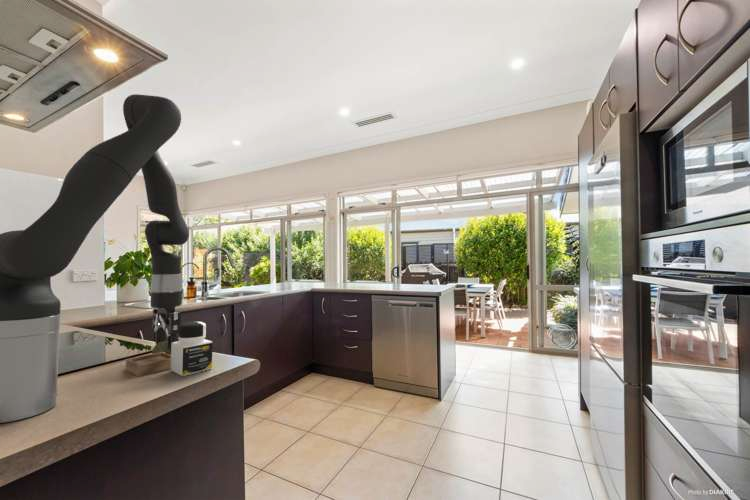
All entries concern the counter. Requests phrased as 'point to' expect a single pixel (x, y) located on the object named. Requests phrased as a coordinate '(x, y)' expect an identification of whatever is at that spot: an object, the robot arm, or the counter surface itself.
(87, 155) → the robot arm
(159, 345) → the lime
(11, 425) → the counter surface
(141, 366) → the base
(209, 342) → the medicine bottle
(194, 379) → the counter surface
